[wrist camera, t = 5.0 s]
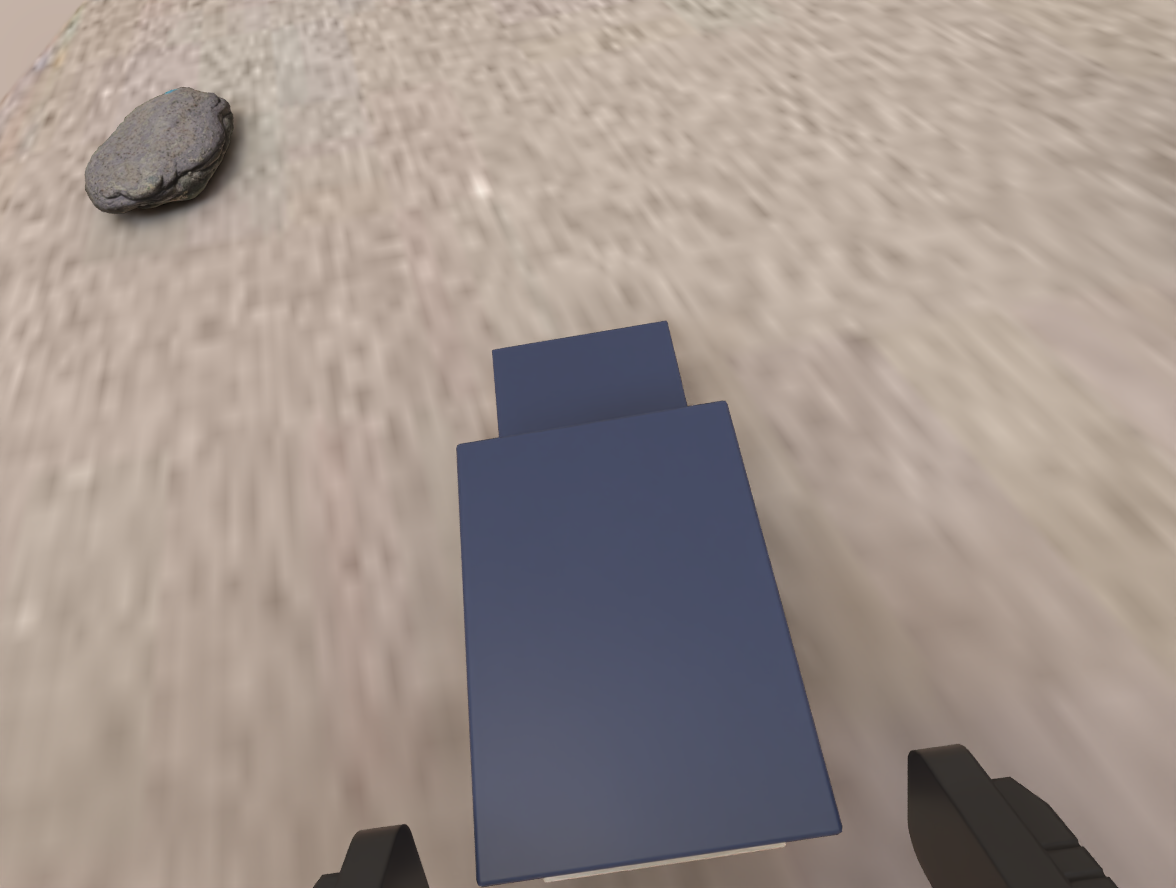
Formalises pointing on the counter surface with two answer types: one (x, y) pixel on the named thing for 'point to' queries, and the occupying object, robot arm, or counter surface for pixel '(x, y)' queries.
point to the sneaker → (624, 626)
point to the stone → (160, 152)
